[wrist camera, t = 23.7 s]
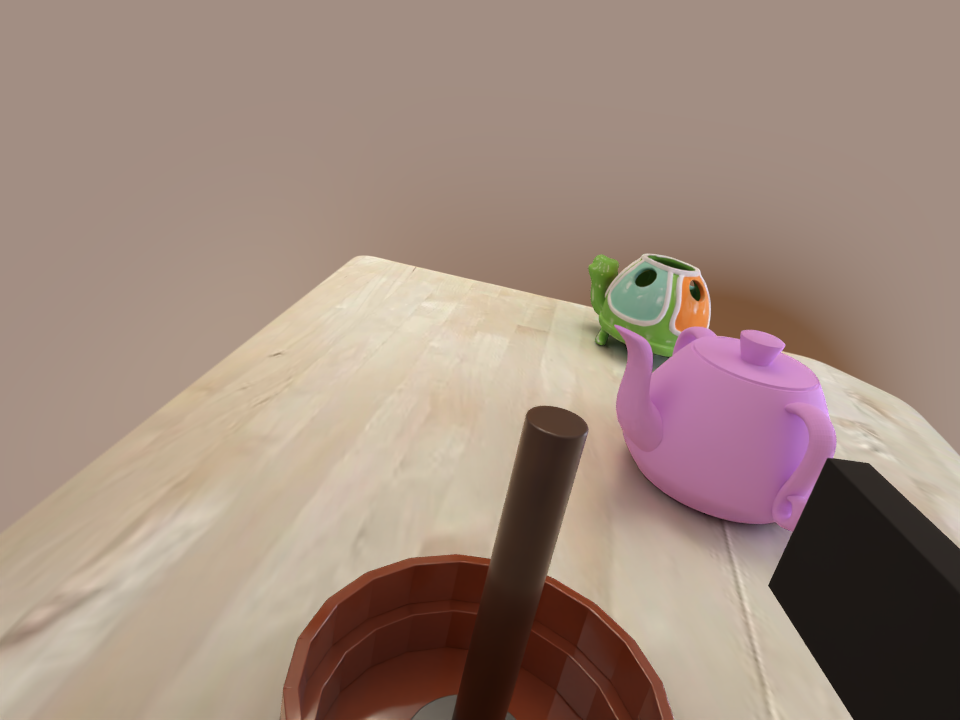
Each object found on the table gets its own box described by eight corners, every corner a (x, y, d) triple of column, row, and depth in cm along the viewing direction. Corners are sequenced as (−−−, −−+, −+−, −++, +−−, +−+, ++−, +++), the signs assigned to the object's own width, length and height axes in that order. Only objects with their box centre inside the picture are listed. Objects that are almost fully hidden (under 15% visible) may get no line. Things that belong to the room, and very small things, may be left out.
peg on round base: (416, 855, 27) (509, 472, 20) (384, 722, 32) (450, 378, 25) (551, 822, 29) (678, 467, 22) (502, 702, 34) (593, 382, 27)
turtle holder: (610, 314, 99) (633, 234, 95) (714, 368, 87) (746, 278, 82) (549, 320, 92) (570, 233, 87) (653, 380, 79) (685, 282, 75)
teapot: (532, 411, 66) (565, 275, 61) (722, 420, 73) (768, 298, 67) (631, 569, 47) (693, 391, 42) (878, 562, 54) (959, 407, 48)
